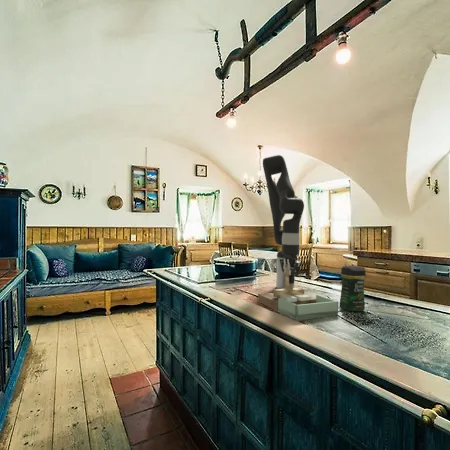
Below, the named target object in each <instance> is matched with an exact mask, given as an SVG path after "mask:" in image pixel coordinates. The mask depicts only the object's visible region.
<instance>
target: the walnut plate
mask: <svg viewBox="0 0 450 450" xmlns="http://www.w3.org/2000/svg"><path fill="white" fill-rule="evenodd" d="M257 297H258V298H257V302H258V303H260V304H262V305H264V306H266V307H268V308H270V309H271V310H274V311H276V312H278V298H276V297H274V296H273V292H268V293H267V292H266V293H258V295H257ZM291 303H294V304H296V305H300V304H310V303H316V297H312V296H310V300H305V301H300V300H297V301H295V302H291Z"/></svg>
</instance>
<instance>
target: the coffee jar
mask: <svg viewBox="0 0 450 450" xmlns="http://www.w3.org/2000/svg"><path fill="white" fill-rule="evenodd" d="M340 276H341V277H340V278H341V288H340V289H341V291H340V298H339V299H340V300H339V308H340V309H341V310H342V311H345V310H346V311H347V312H350V311H352V312H353V311H358V312H364V311H365V309H366V308H365V307H366V303H365V301H366V300H365V280H366V276H367V275H366V268H365V267H362V266H358V265H348V266H347V265H346V266H345V265H344V266H342V268H341V271H340ZM363 310H364V311H363Z"/></svg>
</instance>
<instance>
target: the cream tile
mask: <svg viewBox="0 0 450 450" xmlns="http://www.w3.org/2000/svg"><path fill="white" fill-rule="evenodd" d="M294 297H296V298H297V300H300V301H305V300H310V297H311V296H310V295H307V294H305V293H304V294H297V295H294Z"/></svg>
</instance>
